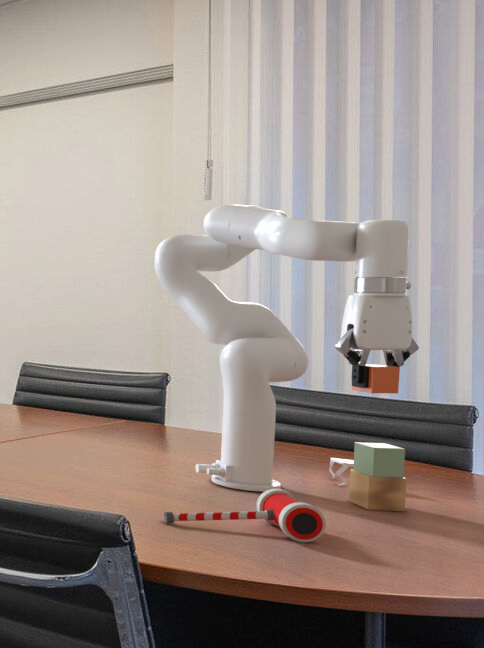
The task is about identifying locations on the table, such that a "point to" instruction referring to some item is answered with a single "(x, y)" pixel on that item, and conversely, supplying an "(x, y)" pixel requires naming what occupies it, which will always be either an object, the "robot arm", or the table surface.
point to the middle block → (379, 459)
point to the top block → (381, 379)
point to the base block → (377, 492)
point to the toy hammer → (271, 515)
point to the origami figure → (345, 465)
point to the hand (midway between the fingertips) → (374, 386)
